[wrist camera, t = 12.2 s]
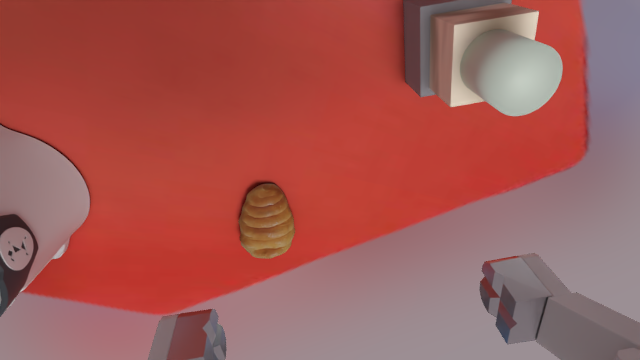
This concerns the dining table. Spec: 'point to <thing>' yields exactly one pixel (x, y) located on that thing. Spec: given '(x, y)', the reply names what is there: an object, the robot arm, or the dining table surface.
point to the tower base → (427, 36)
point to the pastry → (266, 222)
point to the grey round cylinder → (511, 71)
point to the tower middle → (457, 34)
